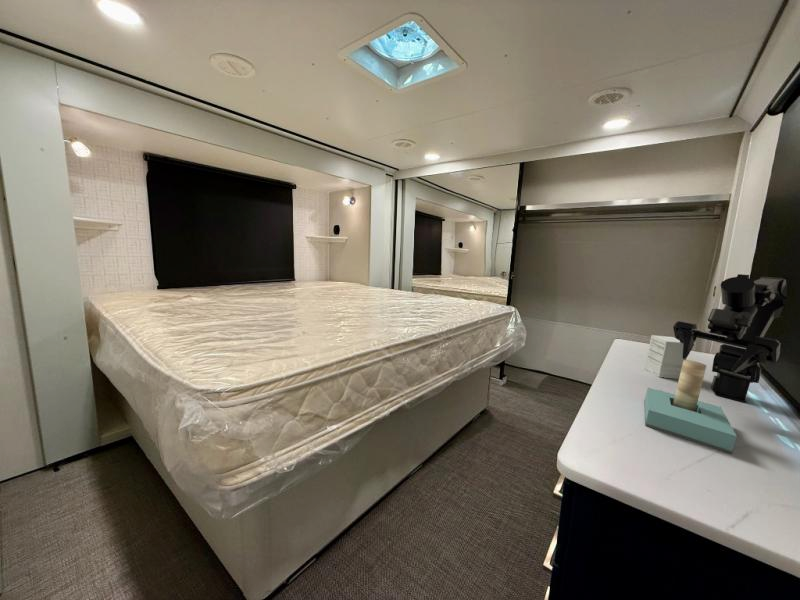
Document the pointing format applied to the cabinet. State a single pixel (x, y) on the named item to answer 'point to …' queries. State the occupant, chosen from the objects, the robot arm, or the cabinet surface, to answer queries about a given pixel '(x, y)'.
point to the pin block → (689, 421)
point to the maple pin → (689, 385)
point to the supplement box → (665, 357)
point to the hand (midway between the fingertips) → (707, 364)
